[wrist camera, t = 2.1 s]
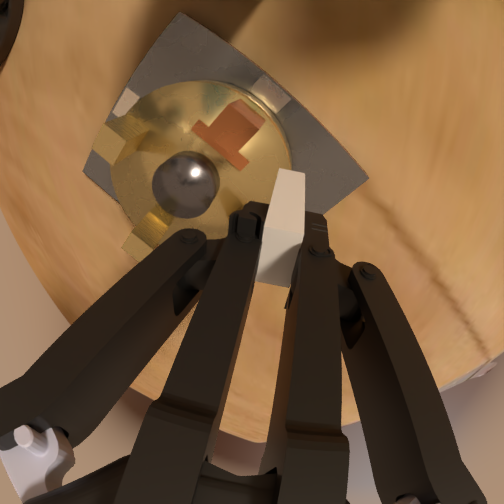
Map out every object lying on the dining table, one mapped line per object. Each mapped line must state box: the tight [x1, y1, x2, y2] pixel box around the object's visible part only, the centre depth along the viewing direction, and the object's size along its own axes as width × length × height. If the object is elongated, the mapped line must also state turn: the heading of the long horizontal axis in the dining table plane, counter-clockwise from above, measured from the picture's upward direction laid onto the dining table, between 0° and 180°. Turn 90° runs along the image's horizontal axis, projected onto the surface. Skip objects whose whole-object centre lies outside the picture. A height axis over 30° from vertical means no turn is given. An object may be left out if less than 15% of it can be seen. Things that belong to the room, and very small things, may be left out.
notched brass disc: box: [92, 80, 292, 262], centre depth 22 cm, size 16×16×6 cm
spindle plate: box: [83, 12, 369, 215], centre depth 25 cm, size 22×20×1 cm
